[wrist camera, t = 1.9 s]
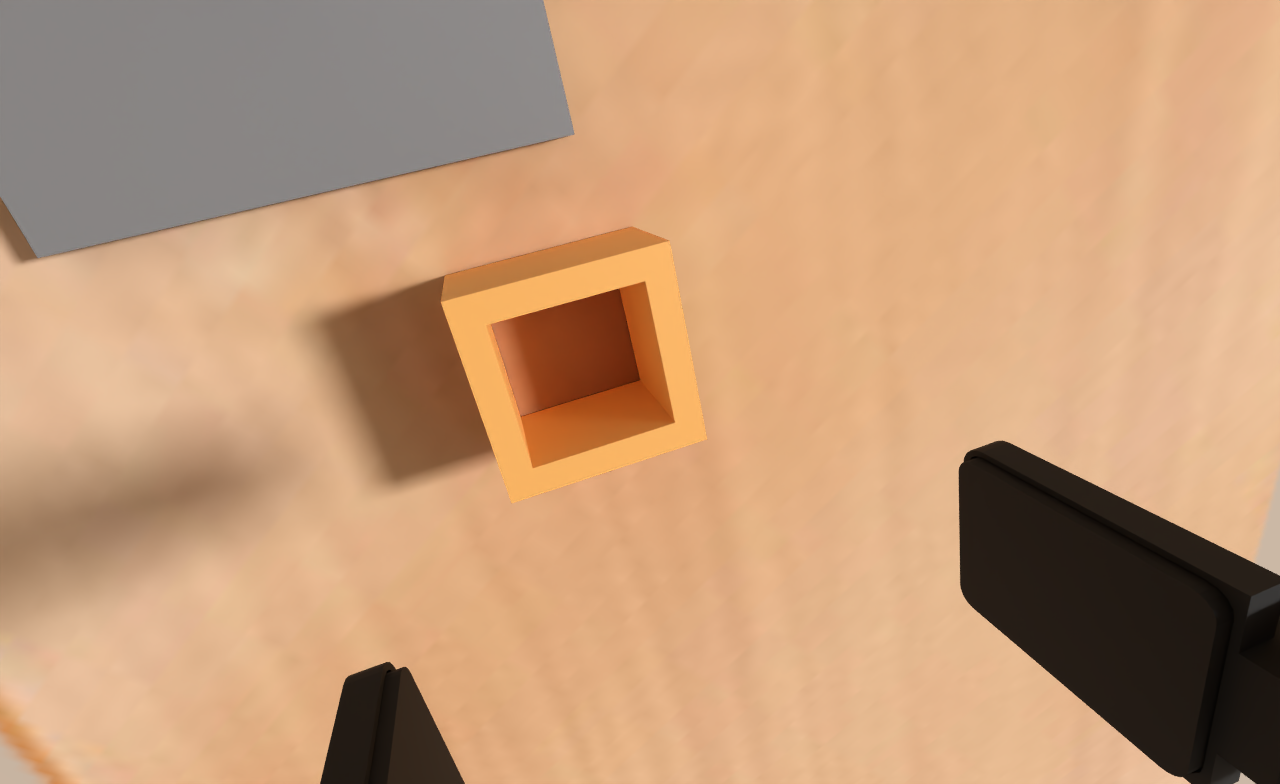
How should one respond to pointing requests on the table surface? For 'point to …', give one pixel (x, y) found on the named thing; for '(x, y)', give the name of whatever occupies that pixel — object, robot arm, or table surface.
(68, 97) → the plate
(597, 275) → the orange open box
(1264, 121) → the table surface
